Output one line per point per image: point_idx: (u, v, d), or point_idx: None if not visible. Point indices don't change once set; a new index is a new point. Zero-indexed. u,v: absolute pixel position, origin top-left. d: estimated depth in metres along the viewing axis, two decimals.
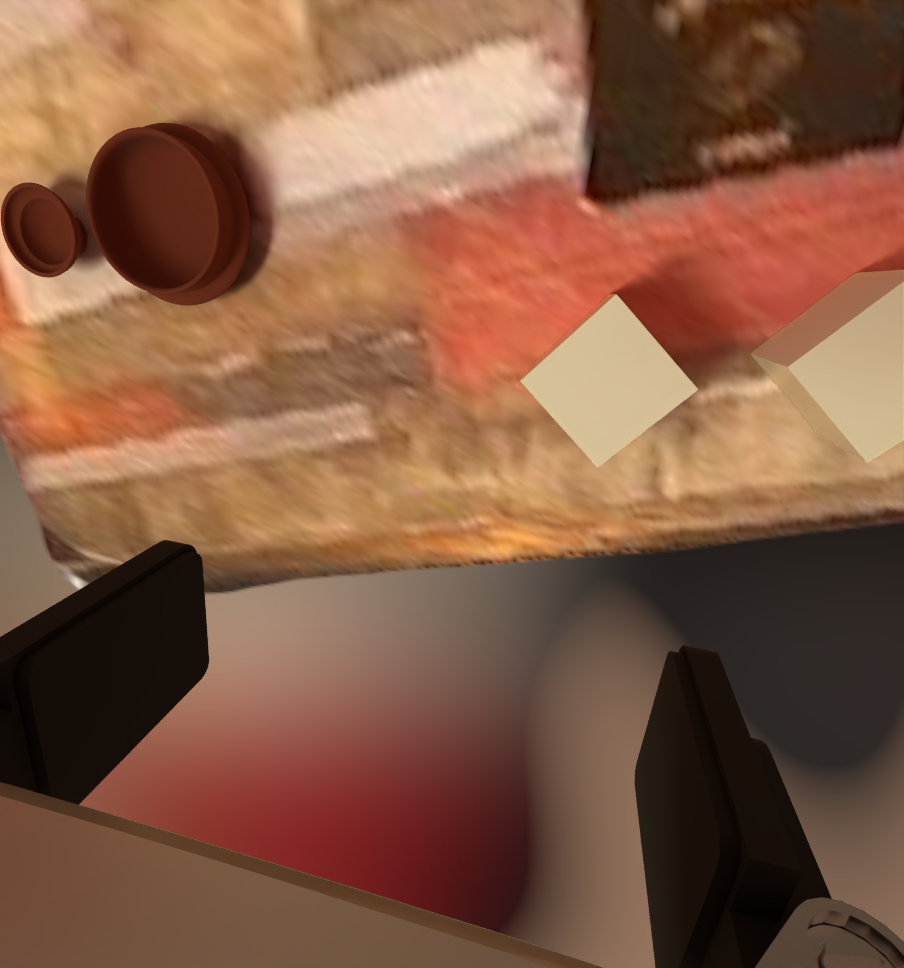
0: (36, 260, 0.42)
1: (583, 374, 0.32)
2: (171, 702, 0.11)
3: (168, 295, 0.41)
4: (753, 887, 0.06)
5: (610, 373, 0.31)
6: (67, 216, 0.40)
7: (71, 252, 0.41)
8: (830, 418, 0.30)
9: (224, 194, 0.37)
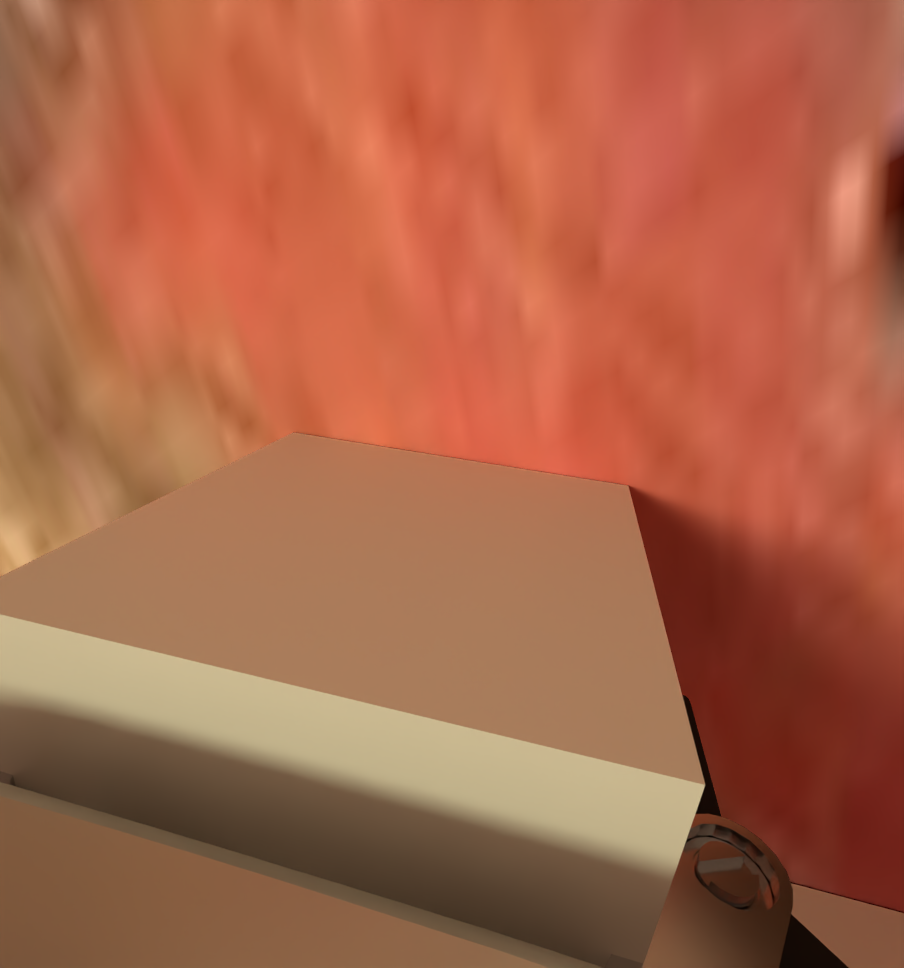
0: None
1: (233, 841, 0.06)
2: None
3: None
4: None
5: None
6: None
7: None
8: None
9: None
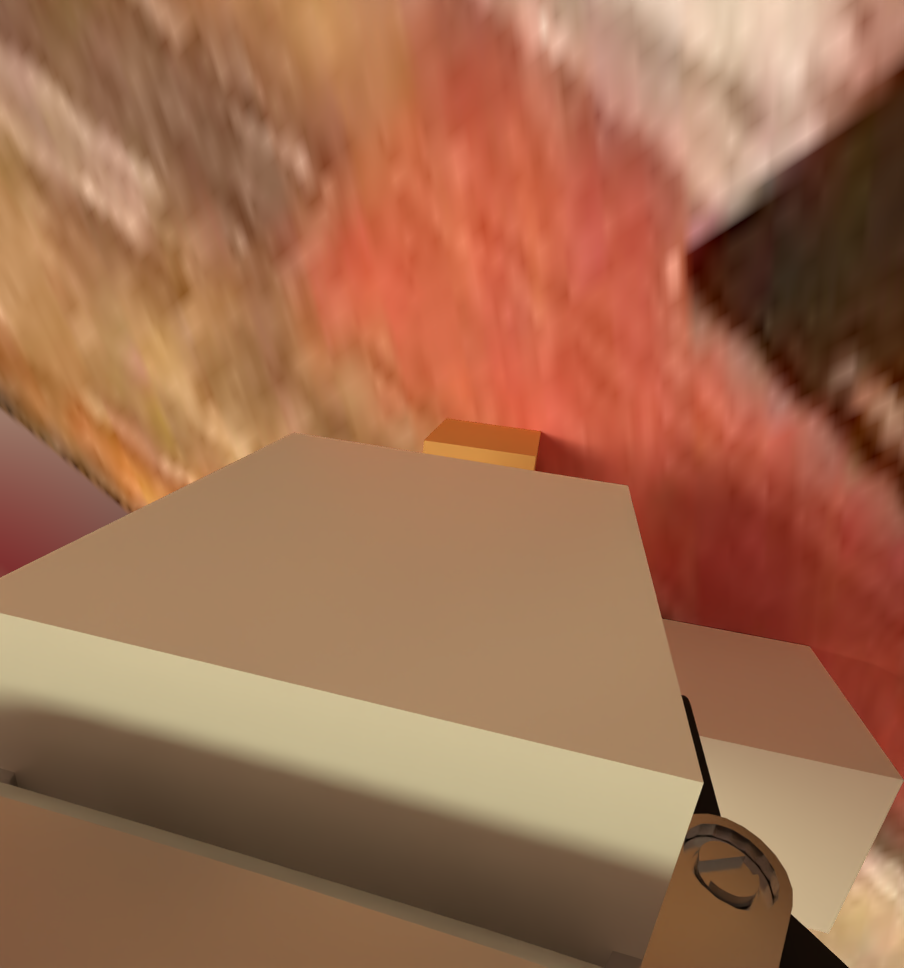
0: None
1: (234, 840, 0.06)
2: None
3: None
4: None
5: None
6: None
7: None
8: None
9: None
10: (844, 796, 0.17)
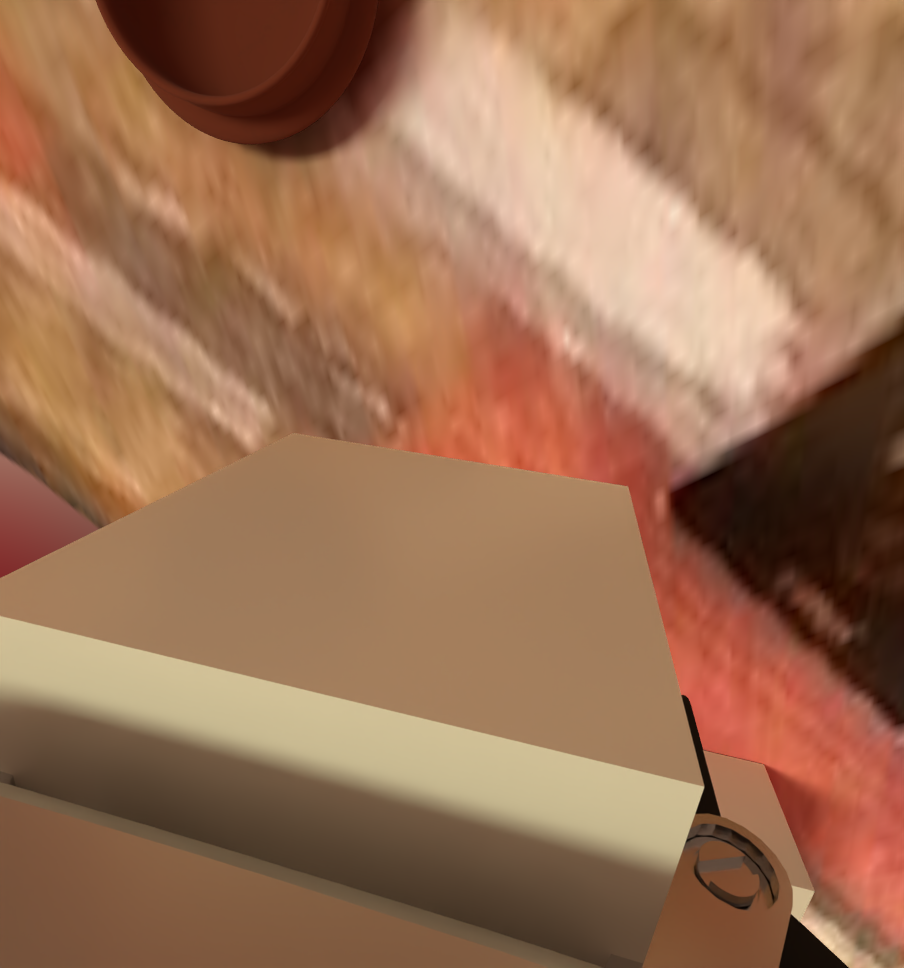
0: None
1: (233, 842, 0.06)
2: None
3: None
4: None
5: None
6: None
7: None
8: None
9: (330, 39, 0.21)
10: None
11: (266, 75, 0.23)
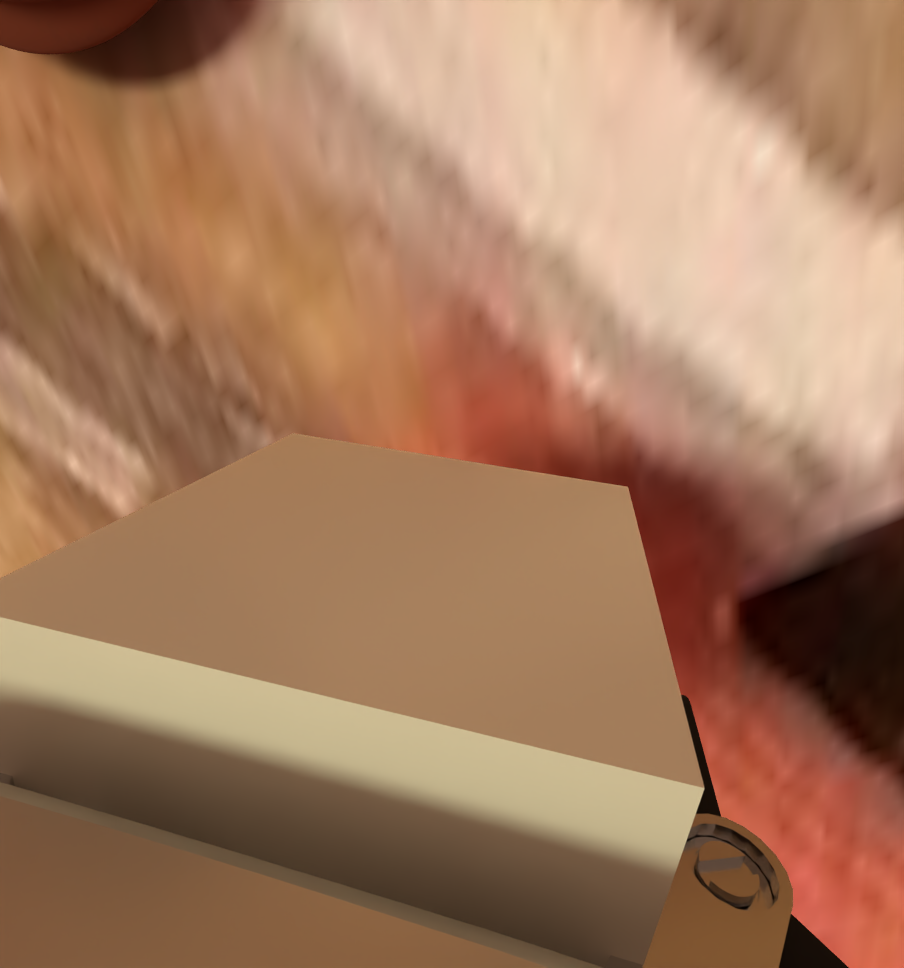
0: None
1: (231, 844, 0.06)
2: None
3: None
4: None
5: None
6: None
7: None
8: None
9: None
10: None
11: None
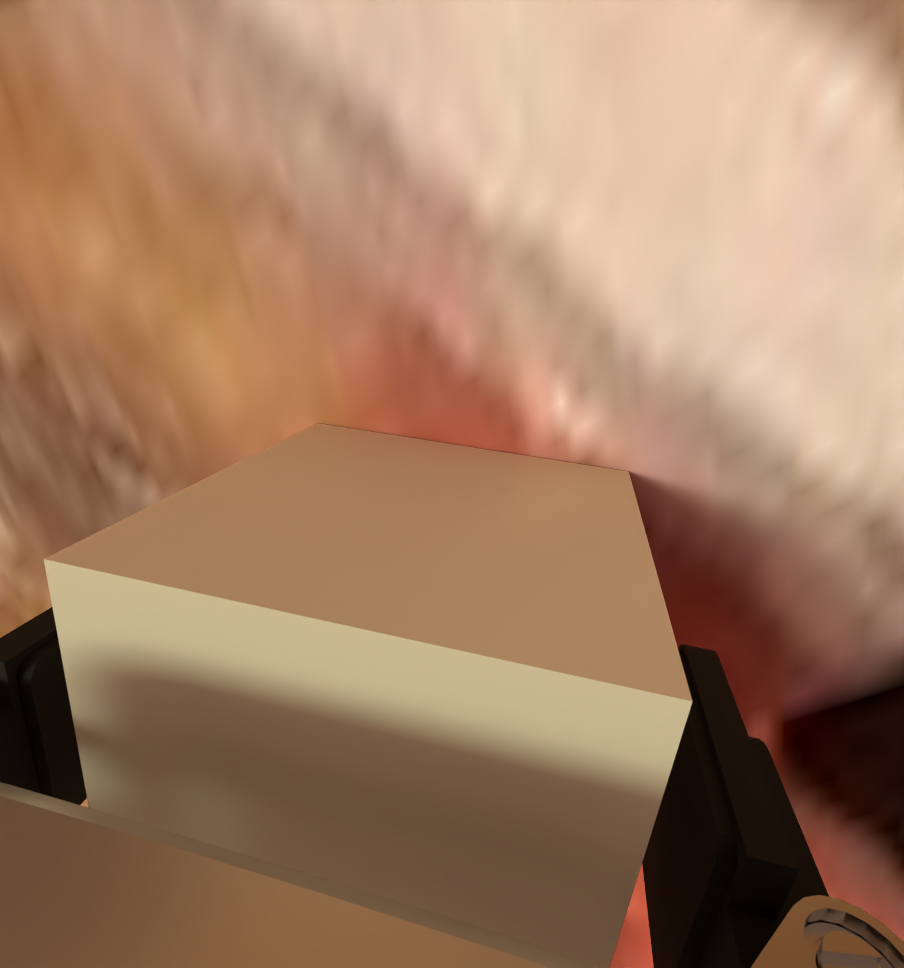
0: None
1: (285, 769, 0.06)
2: None
3: None
4: (751, 884, 0.06)
5: (374, 853, 0.07)
6: None
7: None
8: None
9: None
10: None
11: None
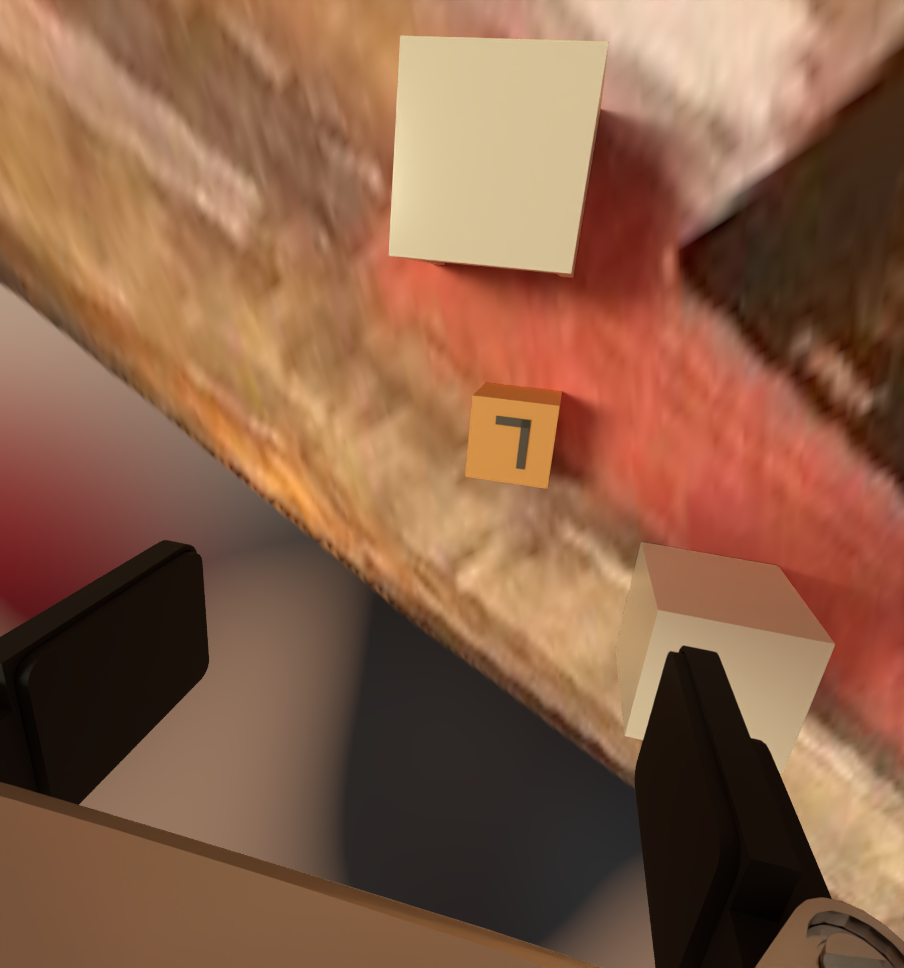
0: None
1: (477, 114, 0.19)
2: (171, 702, 0.11)
3: None
4: (753, 887, 0.06)
5: (506, 147, 0.19)
6: None
7: None
8: (639, 679, 0.25)
9: None
10: (792, 659, 0.23)
11: None
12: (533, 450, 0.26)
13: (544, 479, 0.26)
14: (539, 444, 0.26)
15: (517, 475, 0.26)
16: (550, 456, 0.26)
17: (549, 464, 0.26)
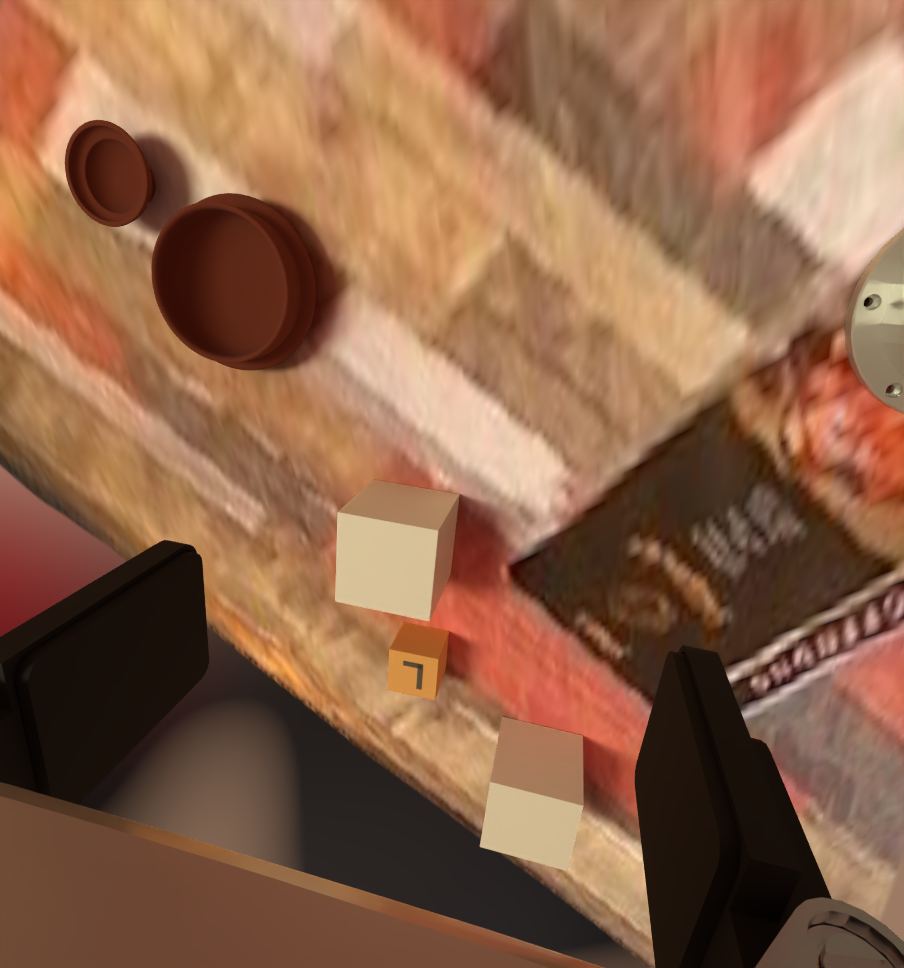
0: (85, 184, 0.38)
1: (377, 548, 0.37)
2: (171, 702, 0.11)
3: None
4: (753, 887, 0.06)
5: (392, 564, 0.37)
6: (144, 196, 0.37)
7: (124, 221, 0.38)
8: (485, 816, 0.43)
9: (290, 324, 0.38)
10: (563, 811, 0.41)
11: (256, 331, 0.40)
12: (425, 680, 0.44)
13: (433, 695, 0.44)
14: (428, 677, 0.44)
15: (417, 692, 0.45)
16: (435, 683, 0.44)
17: (435, 688, 0.44)
